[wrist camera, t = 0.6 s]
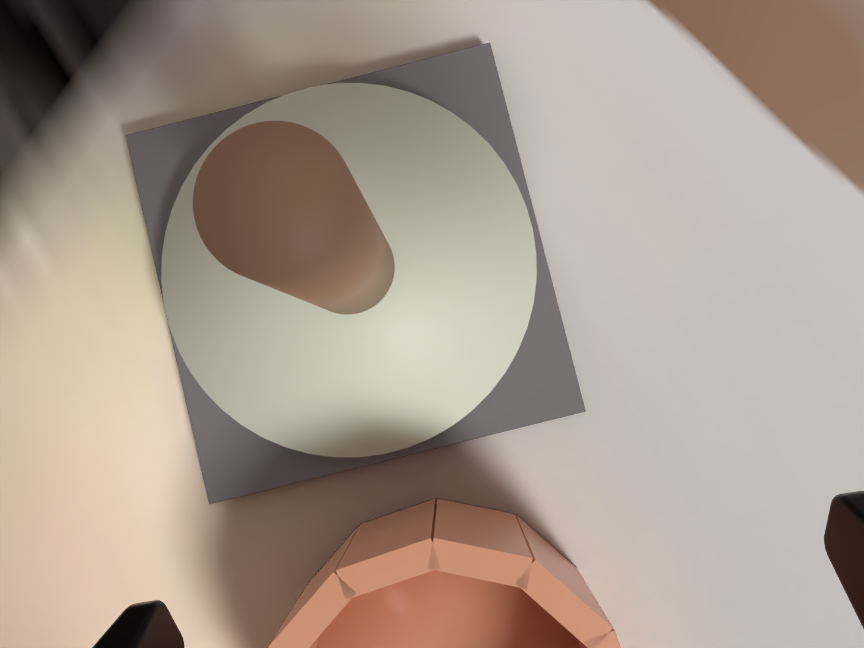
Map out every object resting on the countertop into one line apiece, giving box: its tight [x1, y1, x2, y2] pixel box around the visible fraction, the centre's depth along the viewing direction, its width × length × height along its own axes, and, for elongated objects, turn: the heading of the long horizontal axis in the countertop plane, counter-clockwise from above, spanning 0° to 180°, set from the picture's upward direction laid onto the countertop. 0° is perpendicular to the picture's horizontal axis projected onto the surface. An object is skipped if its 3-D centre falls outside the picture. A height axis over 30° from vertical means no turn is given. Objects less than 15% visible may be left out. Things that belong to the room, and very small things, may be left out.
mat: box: [126, 43, 585, 504], centre depth 23 cm, size 13×13×1 cm
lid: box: [161, 83, 537, 457], centre depth 18 cm, size 12×12×10 cm
